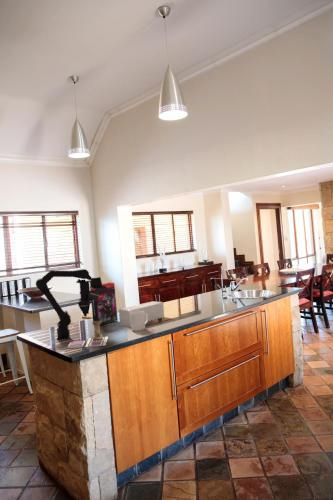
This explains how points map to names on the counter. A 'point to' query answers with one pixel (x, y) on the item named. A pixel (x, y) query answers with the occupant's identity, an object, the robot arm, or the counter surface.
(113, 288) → the graphics card box
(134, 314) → the mug
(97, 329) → the stamp
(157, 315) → the light grey long box
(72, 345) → the ink pad
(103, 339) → the sheet
